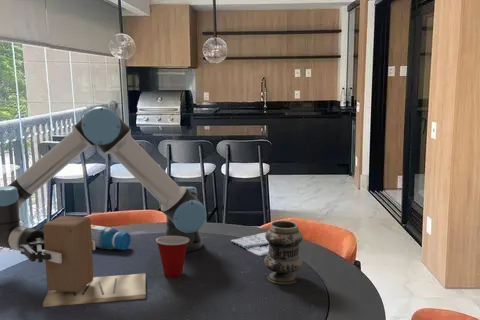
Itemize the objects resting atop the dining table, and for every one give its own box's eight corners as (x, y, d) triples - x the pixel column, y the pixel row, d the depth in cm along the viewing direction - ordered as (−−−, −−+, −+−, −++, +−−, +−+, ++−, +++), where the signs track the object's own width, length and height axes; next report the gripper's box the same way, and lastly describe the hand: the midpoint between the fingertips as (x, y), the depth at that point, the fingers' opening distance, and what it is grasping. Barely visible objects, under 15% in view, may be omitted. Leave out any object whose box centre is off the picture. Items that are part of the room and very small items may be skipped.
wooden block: (77, 293, 136) (73, 225, 133) (45, 291, 138) (41, 223, 135) (94, 280, 146) (91, 216, 143) (65, 277, 148) (61, 214, 145)
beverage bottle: (72, 233, 181) (116, 242, 174) (85, 218, 187) (128, 225, 180) (80, 249, 186) (123, 257, 179) (92, 233, 192) (134, 241, 185)
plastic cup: (195, 269, 160) (194, 235, 158) (181, 282, 150) (180, 245, 148) (166, 265, 164) (165, 232, 162) (150, 277, 153) (149, 241, 152)
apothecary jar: (297, 288, 145) (298, 231, 142) (259, 283, 149) (259, 227, 146) (305, 274, 156) (306, 220, 153) (270, 269, 160) (270, 217, 158)
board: (145, 276, 154) (145, 273, 154) (145, 298, 139) (145, 293, 138) (53, 284, 149) (53, 280, 149) (43, 306, 133) (42, 302, 133)
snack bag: (269, 235, 198) (269, 230, 198) (299, 249, 181) (299, 244, 181) (229, 243, 189) (229, 238, 188) (257, 258, 172) (257, 253, 171)
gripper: (60, 241, 160) (108, 251, 149) (-7, 264, 139) (43, 278, 129) (59, 219, 159) (107, 228, 148) (-9, 239, 138) (42, 251, 127)
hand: (78, 251), depth 138 cm, fingers closed on wooden block, 12 cm apart
